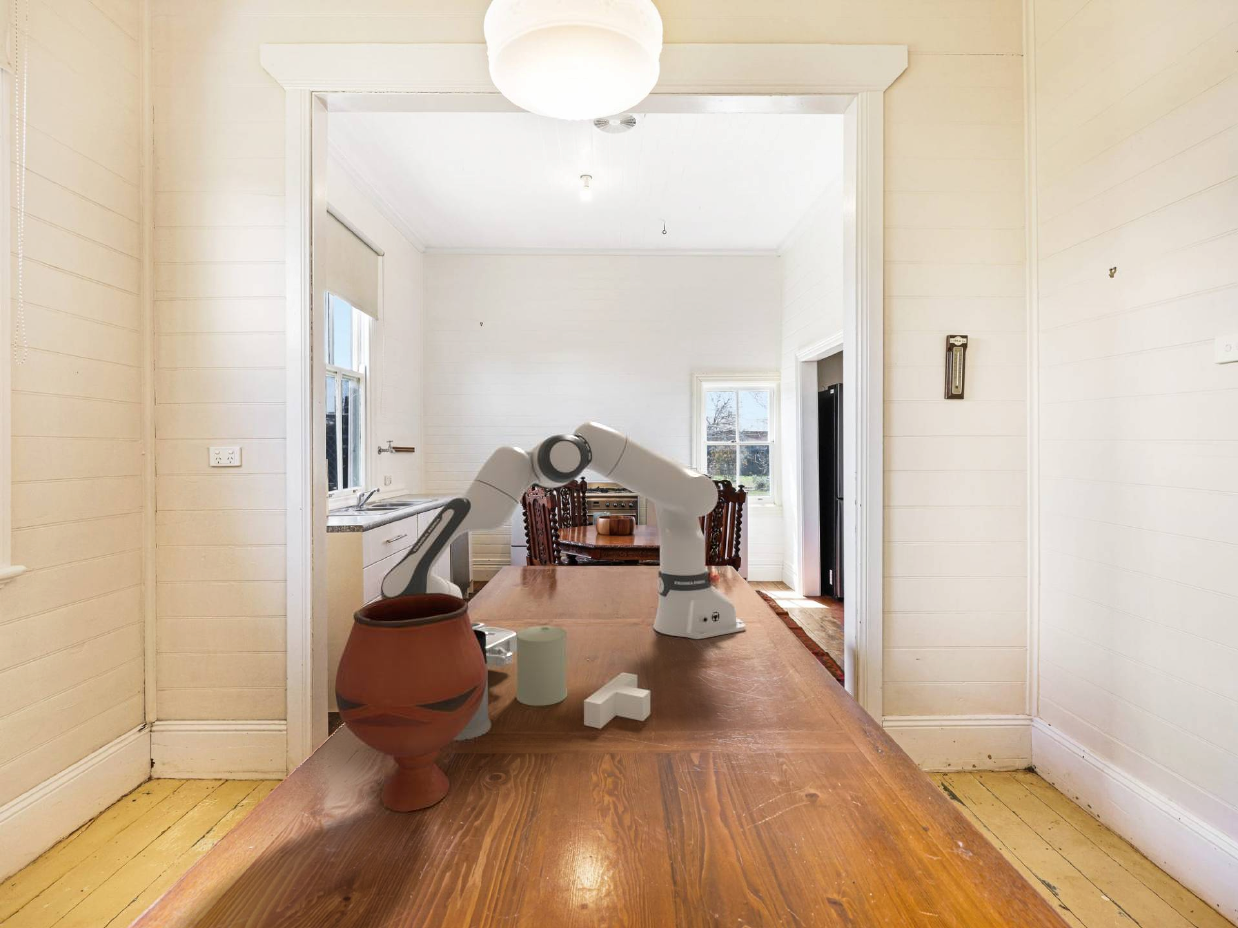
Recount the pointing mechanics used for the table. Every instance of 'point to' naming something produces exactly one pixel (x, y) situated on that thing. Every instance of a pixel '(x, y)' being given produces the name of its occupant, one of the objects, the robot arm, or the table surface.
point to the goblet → (411, 687)
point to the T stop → (617, 702)
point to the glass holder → (480, 719)
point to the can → (541, 665)
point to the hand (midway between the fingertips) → (508, 659)
